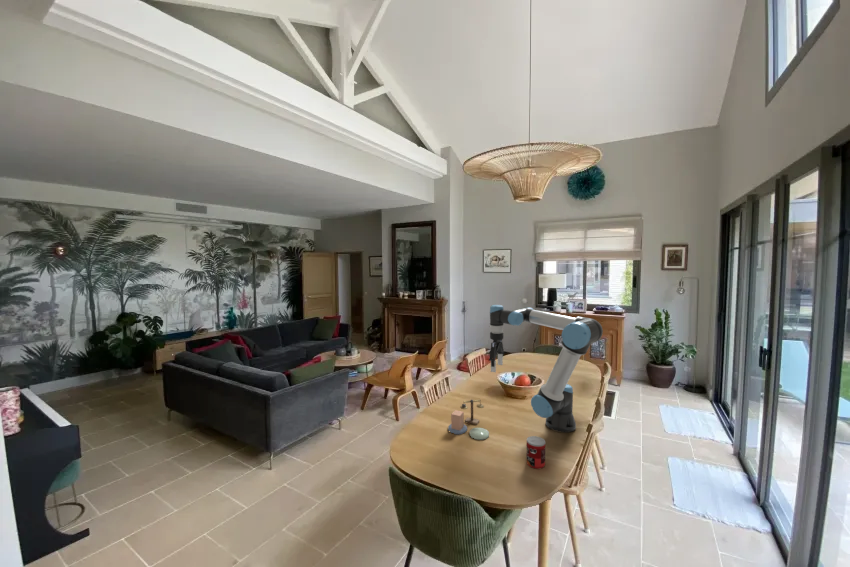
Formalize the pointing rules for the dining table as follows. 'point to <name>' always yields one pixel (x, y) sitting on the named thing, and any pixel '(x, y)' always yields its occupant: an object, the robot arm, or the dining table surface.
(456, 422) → the block
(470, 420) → the balance
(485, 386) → the dining table surface
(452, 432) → the saucer slate far
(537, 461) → the canned food
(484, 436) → the saucer sage near
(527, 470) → the dining table surface
